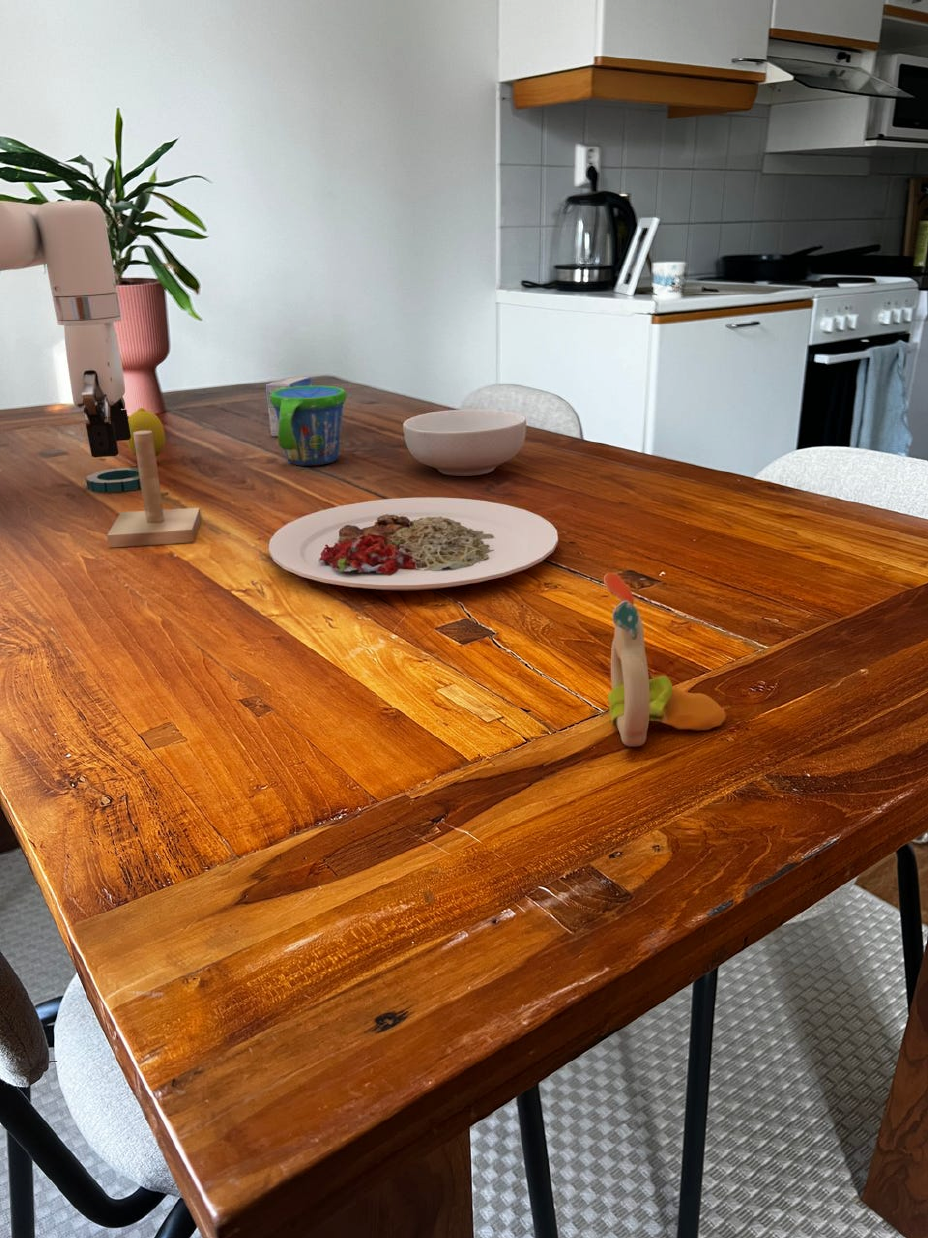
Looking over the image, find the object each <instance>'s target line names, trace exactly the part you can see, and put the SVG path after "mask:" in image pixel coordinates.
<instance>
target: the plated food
mask: <svg viewBox="0 0 928 1238" xmlns="http://www.w3.org/2000/svg"><path fill="white" fill-rule="evenodd" d="M558 537H559V536H558V530H557V529H556V528H555V527H554V525H553V524H552V523H551V522H550V521H548V520H547V519H545V518H544V517H542V516H541V515H539V514H536V513H533V512H530V511H529V510H527V509H523V508H520V507H517V506H516V507H515V506H512V505H508V504H503V503H498V502H493V501H487V500H479V499H470V498H458V497H401V498H386V499H377V500H368V501H362V502H355V503H349V504H343V505H338V506H335V507H331V508H326V509H321V510H318V511H316V512H313V513H310V514H306V515H304V516H301V517H299V518H297V519H295V520H292V521H290V522H288V523H286V524H285V525H283V526H282V527H280V528H279V529H278V530H276V532H274V533H273V535H272V536H271V538H270V539H269V544H268V553H269V555H270V556H271V559H272V561H273V562H275V564H277V565H278V566H280V567H281V568H282V569H284V570H286V571H287V572H290V573H293V574H295V575H296V576H299V577H301V578H306V579H310V580H314V581H317V582H319V583H324V584H331V585H336V586H337V585H338V586H344V587H350V588H361V589H367V590H368V589H369V590H380V591H381V590H382V591H425V590H438V589H445V588H446V589H447V588H453V587H460V586H465V585H469V584H477V583H482V582H485V581H489V580H494V579H498V578H504V577H507V576H509V575H512V574H515V573H518V572H522V571H524V570H527V569H529V568H531V567H533V566H535V565H537V564H539V563H541V562H543V561H544V560H546V558H547V557H549V556H550V555H551V554H552V553H554V552H555V549H556V548H557V545H558V544H559V538H558Z"/></svg>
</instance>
